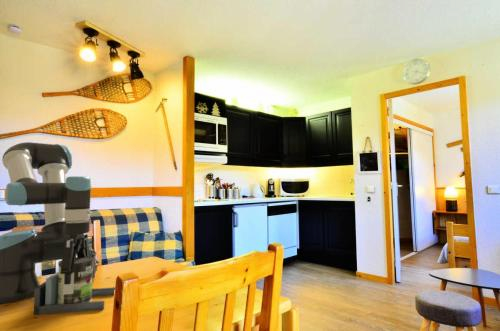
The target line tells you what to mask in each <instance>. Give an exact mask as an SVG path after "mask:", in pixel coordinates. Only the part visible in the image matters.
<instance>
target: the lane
mask: <svg viewBox="0 0 500 331" xmlns="http://www.w3.org/2000/svg"><path fill="white" fill-rule="evenodd" d="M114 290H115V291H116V286H115V287H101V288H100V287H99V288H92V298H97V297H108V296H109V297H110V296H115V295H114ZM45 296H46V281H45V282H43V283H41V284H40V285H39V286H38V287H36V288H35V290H34V296H33V316H43V315H53V314H55V315H56V314H67V313H81V312H91V311H104V309H105V300H95V301H94V300H92V301H91V302H78V303H65V304H51V305H45Z"/></svg>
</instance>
